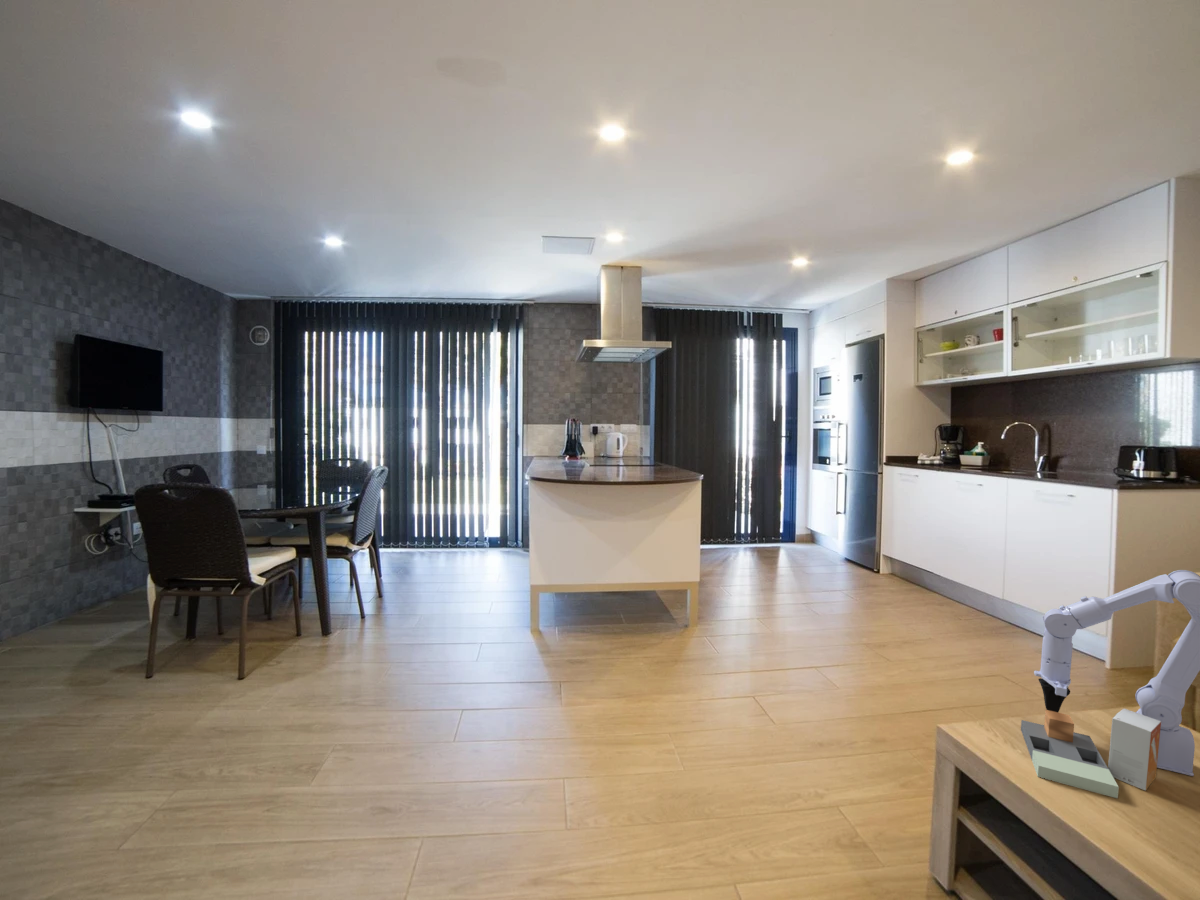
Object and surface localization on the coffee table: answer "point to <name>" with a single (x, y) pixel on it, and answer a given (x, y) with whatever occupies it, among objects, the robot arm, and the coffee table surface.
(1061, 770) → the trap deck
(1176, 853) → the coffee table surface
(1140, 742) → the small box
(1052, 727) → the orange block
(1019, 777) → the coffee table surface
